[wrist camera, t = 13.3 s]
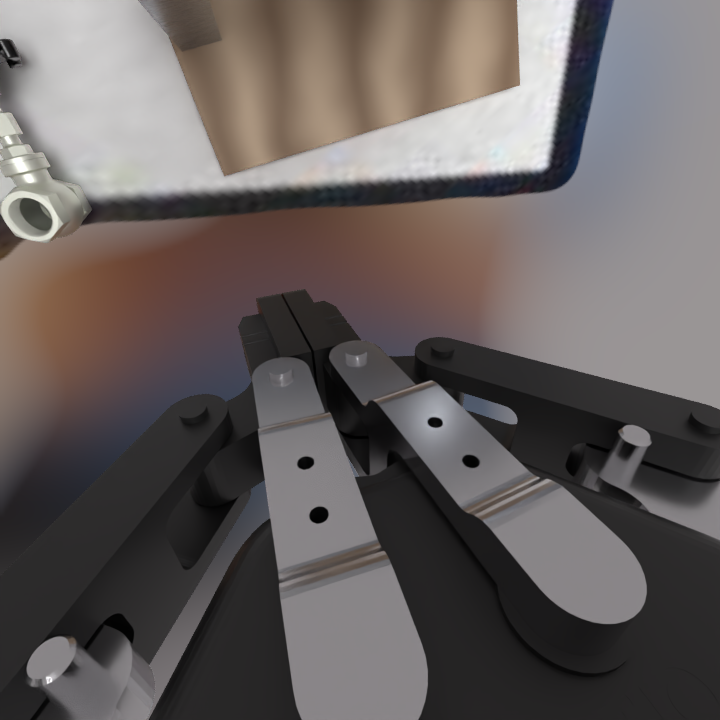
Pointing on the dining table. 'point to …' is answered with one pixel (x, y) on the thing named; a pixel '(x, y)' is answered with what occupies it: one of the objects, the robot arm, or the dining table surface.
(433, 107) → the track board
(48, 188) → the valve
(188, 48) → the grey two-legged stand
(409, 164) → the dining table surface
